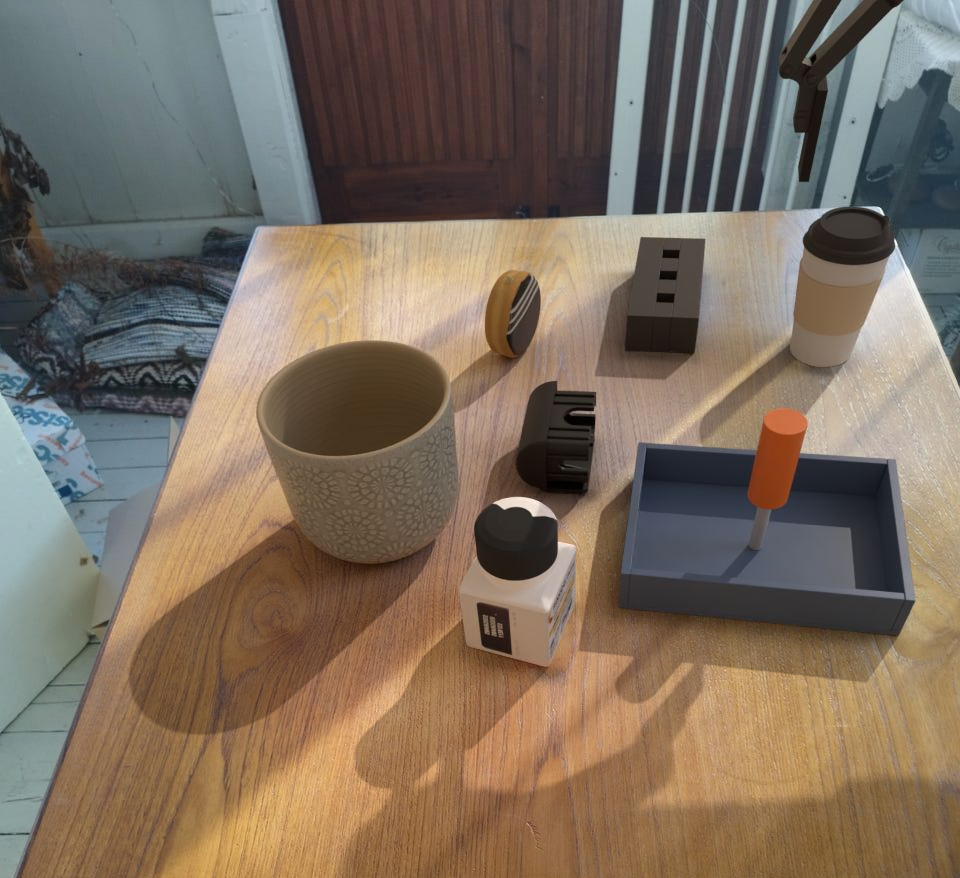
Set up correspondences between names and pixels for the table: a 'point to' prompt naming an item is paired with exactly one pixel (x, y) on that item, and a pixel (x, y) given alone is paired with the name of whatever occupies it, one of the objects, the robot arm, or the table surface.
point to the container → (518, 582)
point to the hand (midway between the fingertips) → (893, 175)
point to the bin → (767, 541)
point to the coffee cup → (838, 282)
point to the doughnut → (512, 313)
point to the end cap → (557, 440)
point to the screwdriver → (774, 466)
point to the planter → (364, 447)
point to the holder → (666, 295)
